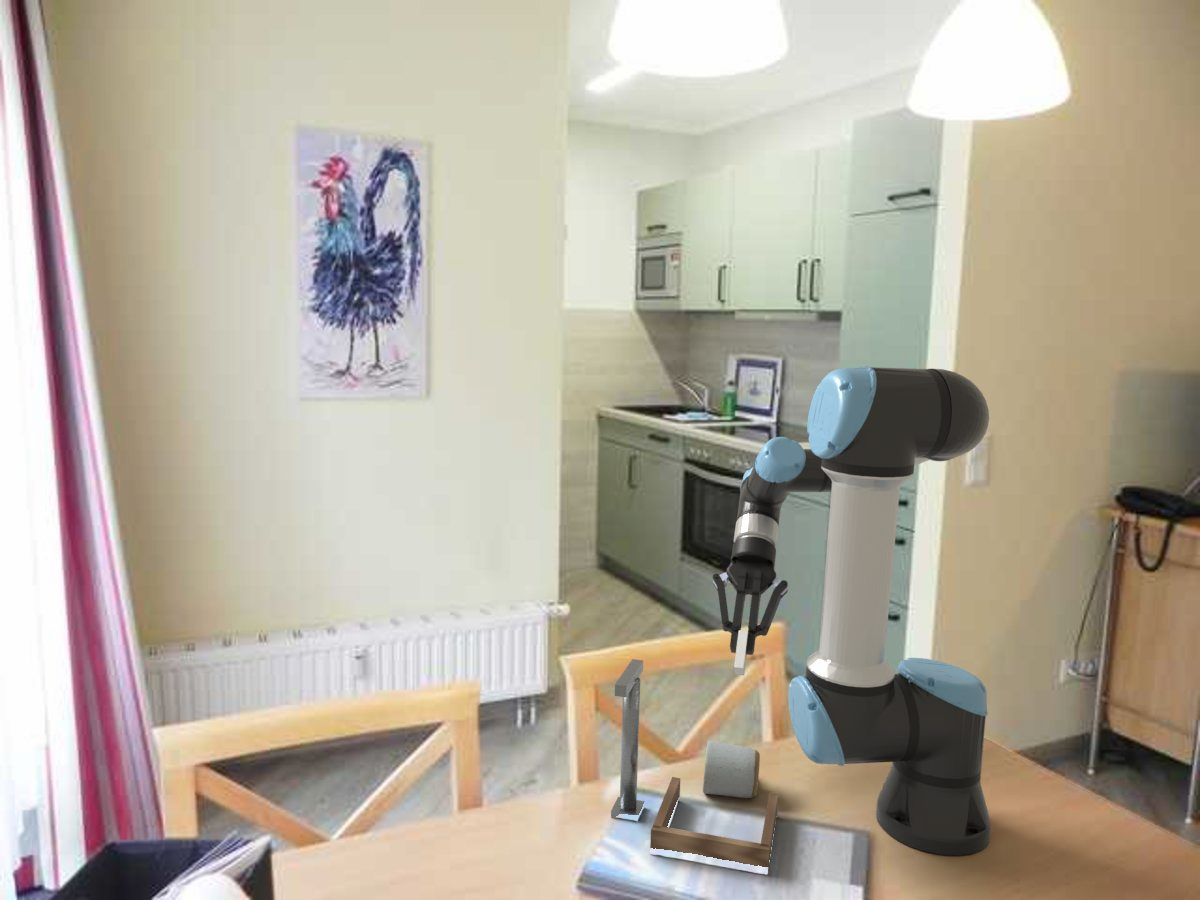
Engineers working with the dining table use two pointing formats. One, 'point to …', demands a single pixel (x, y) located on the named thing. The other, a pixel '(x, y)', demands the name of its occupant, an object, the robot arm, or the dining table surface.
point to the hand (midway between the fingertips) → (739, 671)
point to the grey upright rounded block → (731, 770)
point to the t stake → (629, 739)
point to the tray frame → (711, 843)
